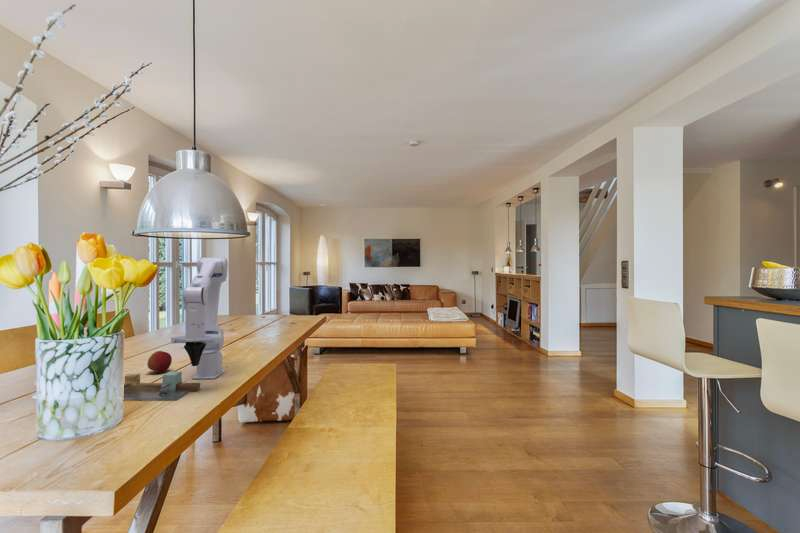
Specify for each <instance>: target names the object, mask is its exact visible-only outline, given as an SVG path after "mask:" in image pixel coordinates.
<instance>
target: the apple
mask: <svg viewBox="0 0 800 533" xmlns="http://www.w3.org/2000/svg"><path fill="white" fill-rule="evenodd" d="M172 362H173V361H172V355H171V354H170V353H169V352H166V351H162V350H158V351H154V352H153V353H152V354H151V355H150V356H149V357H148V358H147V368H148V369H149V370H151V371H154V372H157V373H159V374H161V373H165V372H167V371H168V370H169V368H170V367H171V364H172Z"/></svg>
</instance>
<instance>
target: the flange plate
mask: <svg viewBox="0 0 800 533" xmlns="http://www.w3.org/2000/svg"><path fill="white" fill-rule="evenodd" d="M187 394H189V392H188V390H163V393H160V390H124V401H125V400H126V401H127V400H144V401H143V402H145V400H146V401H151V402H152V401H154V402H155V401H168V402H169V401H170V402H171V401H178V400H180V399H181V398H183V397H185V396H186V395H187ZM124 401H123V402H124ZM127 402H128V401H127Z"/></svg>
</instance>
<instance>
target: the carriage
mask: <svg viewBox="0 0 800 533" xmlns="http://www.w3.org/2000/svg"><path fill="white" fill-rule="evenodd" d="M182 373H183V372H182V371H168V372H166V373H164V374H162V383H163V385H162V386H161V389H160V393H163V390H176V384H178V383H183V378H182V376H183V375H182Z"/></svg>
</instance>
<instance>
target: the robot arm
mask: <svg viewBox="0 0 800 533" xmlns="http://www.w3.org/2000/svg"><path fill="white" fill-rule="evenodd" d="M228 262H229V261H228V259H227V258H226V257H225V256H224V257H202V256H200V257H199V258H198V259H197V262H196V268H197V269H196V271H197V272H198V274H196V275H195V276H194V277H193V279H192V280H191V281H190V284H189V286H187V287H186V288H183V290H182V302H183V310H184V311H185V319H184V320H185V321H184V322H185V328H184V329H185V330H184V331H185V332H184V333H185V334H184V335H181V336H180V335H179V336H172V337H170V341H171V342H170V343H171V344H184V346H183V348H184V350H185V352H186V353H187V355H188V357H189V360H190V362H191V363H190V364H191V367H196V374H195V375H194V376H192V377H191V378H192V379H194V380H196V379H197V380H204V379H205V380H210V379H211V380H214V379H216V378H217V377H219V376H221V375H222V374H224V373H225V370H224V369H223V354H222V352H221V350H222V349H223V348H224V344H225V340H224V338H225V337H224V335H225V334H224V333H225V332H224V331H223V330H224V329H222V328H221V327H220V326H219V325H218V324H217V321H218V312H219V311H218V310H219V301H220V294H221V293H220V292H221V286H222V283H224V282H226V281H227V278H228V271H229V270H228V269H229V268H228V266H229V265H228Z"/></svg>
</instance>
